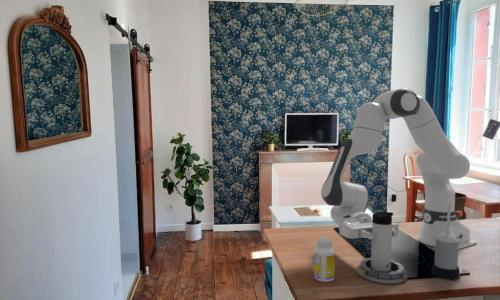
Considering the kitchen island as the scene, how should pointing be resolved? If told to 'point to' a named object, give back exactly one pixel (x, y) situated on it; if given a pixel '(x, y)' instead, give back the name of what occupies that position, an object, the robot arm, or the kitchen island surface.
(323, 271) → the supplement bottle
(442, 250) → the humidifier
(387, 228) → the travel mug
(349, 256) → the kitchen island surface
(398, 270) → the collar
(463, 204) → the plant pot
